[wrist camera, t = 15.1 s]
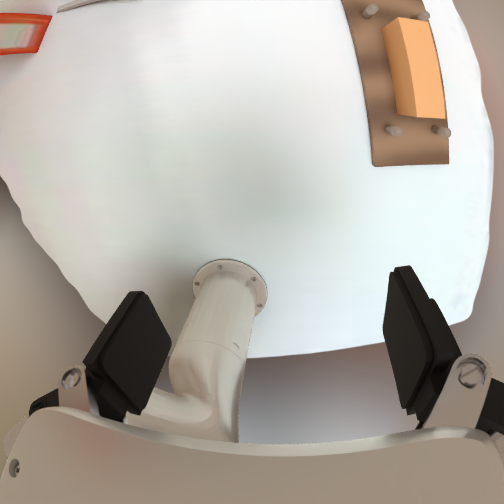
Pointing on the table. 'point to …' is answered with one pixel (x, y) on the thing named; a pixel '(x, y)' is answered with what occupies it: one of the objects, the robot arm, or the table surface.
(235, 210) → the table surface
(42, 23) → the file binder
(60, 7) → the caliper
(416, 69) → the jaw block
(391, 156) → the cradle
